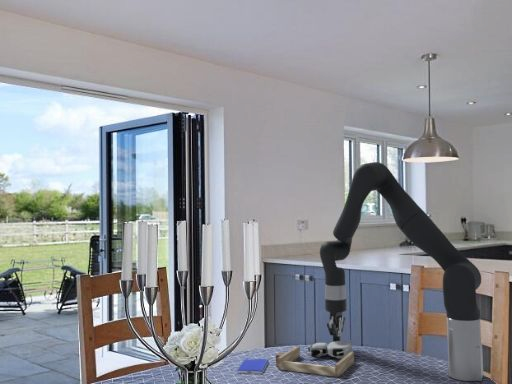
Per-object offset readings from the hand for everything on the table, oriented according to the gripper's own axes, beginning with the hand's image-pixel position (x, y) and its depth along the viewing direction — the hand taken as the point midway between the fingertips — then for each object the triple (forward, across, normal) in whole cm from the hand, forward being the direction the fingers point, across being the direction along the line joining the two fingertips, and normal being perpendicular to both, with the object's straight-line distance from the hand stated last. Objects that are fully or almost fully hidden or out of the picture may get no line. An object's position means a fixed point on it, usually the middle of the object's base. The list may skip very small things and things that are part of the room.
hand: (336, 346), depth 189 cm
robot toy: (+2, -8, 0) cm, 8 cm away
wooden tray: (+1, -20, +1) cm, 20 cm away
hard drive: (+2, -30, +18) cm, 35 cm away
